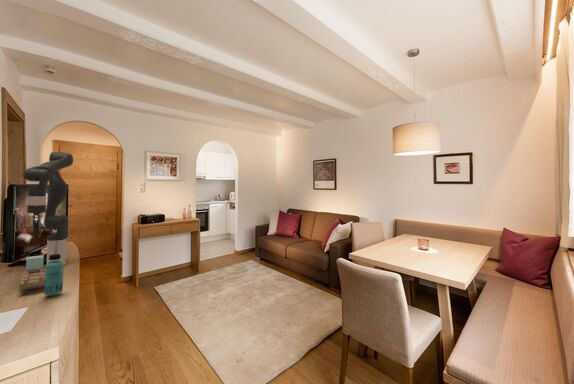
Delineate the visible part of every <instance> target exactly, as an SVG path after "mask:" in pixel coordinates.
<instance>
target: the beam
mask: <svg viewBox="0 0 574 384" xmlns="http://www.w3.org/2000/svg"><path fill="white" fill-rule="evenodd" d="M45 270H46V267H43V268H40V269H39V271H37V272H30V270H26V269H25V270H23V271H22V274H21V279H20V280H19V281H20V282H19V291H20V292H23V291H25V290H32V289H36V288H37V289H38V288H42V287H45V286H44V285H45V284H44V283H45Z"/></svg>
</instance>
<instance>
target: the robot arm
mask: <svg viewBox="0 0 574 384" xmlns="http://www.w3.org/2000/svg"><path fill="white" fill-rule="evenodd" d="M48 160H49V161H45V162H43V163H41V164H40V165H37V166H36V165H35V166H32V167H29V168H27V169H25V170H24V171H23V178H24V179H25V180H27V181H28V182H38V184H35V185H30V186H28V188H27V200H26V213H28V214H33V215H31V216H30V217H31V218H30V219H31V225H32V231H33V232H32V235H33V236H35V237H36V236H39V235H40V227H41V223H42V215H40V214H44V220H43V226H44V228H45V229H46V230H57V231H56V232H54V233H52V234H49V235H48V236H47V237H46V239H47V241H46V242H47V243H46V264H47V263H49V262H51V261H62V262H63V266H65V265H67V236H68V231H69V218H68V217H69V216H67V215H65V214H64V215H61V214H58V215H57V214H56V213H57V209H58V208H59V206H60V205H61V203H62V202H63V201H64V200H65V198H67V195H68V185H67V183H66V182H65V180H64V178H62V176H61V174H60V172H59V171H60V170H62V169H65V168H68V167H70V166H72V165H73V163H74V157H73V155H72V154H71V153H70V152H69V153H68V152H60V151H59V152H58V151H52V152H51V153H49V157H48ZM46 195H47V196H46ZM53 254H60V256H61V258H60V259H57V260H49V256H50V255H53Z"/></svg>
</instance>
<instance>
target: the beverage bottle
mask: <svg viewBox="0 0 574 384" xmlns="http://www.w3.org/2000/svg"><path fill="white" fill-rule="evenodd" d="M60 258H61V256H60V254H53V255H50V256H49V260H57V259H60ZM44 265H45V268H46V270H45V283H44V284H45V285H44V286H43V287H44V288H43V289H44V290H43V291H44V292H43V294H44V295H45V296H55V295H57V294H60V293H62V292H63V288H64V277H63V276H64V265H63V262H62V261H51V262H49V263H47V262H46V264H44Z"/></svg>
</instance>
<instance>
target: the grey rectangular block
mask: <svg viewBox="0 0 574 384" xmlns="http://www.w3.org/2000/svg"><path fill="white" fill-rule="evenodd" d="M44 256H45V255H44V254H42V255H33V256H27V257H26V258H25V260H26V263H25V271H26V270H30V272H37V271H39V269H40V268H44V259H45V257H44Z"/></svg>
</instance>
